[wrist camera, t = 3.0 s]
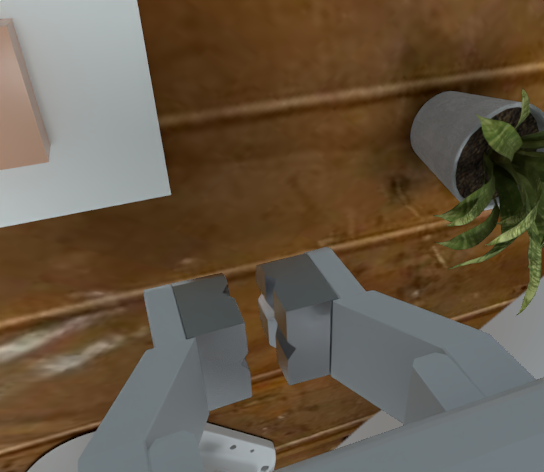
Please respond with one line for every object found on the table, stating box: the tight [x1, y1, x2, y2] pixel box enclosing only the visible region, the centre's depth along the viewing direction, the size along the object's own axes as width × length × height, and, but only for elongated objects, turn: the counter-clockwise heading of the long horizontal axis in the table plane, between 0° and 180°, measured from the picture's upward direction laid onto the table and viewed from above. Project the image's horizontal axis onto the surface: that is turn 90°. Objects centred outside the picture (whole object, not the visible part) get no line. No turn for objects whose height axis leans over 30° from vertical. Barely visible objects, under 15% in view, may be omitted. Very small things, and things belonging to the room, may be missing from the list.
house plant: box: [410, 89, 544, 315], centre depth 28 cm, size 14×14×16 cm
